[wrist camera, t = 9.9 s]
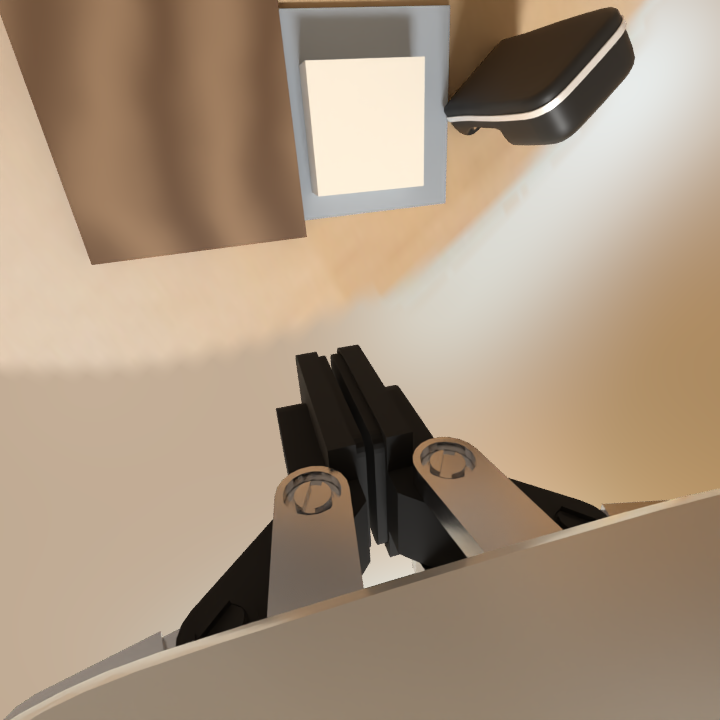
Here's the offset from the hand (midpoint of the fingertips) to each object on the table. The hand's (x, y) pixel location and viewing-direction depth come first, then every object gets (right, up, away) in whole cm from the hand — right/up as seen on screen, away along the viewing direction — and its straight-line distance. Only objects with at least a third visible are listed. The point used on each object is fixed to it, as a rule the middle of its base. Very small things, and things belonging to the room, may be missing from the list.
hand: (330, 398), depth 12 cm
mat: (+2, +19, +21) cm, 28 cm away
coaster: (+1, +18, +20) cm, 27 cm away
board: (-11, +16, +18) cm, 27 cm away
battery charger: (+10, +21, +22) cm, 32 cm away
